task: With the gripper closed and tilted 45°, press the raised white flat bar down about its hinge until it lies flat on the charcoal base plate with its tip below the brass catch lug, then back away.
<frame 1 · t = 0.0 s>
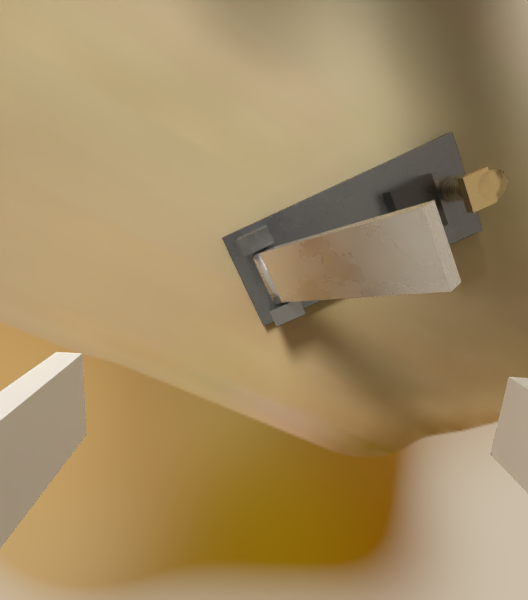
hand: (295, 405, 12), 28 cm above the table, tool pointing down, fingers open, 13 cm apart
strap base: (269, 269, 39), on the table
white flat bar: (330, 265, 28), point 11 cm above the table, hinge at 55.0°
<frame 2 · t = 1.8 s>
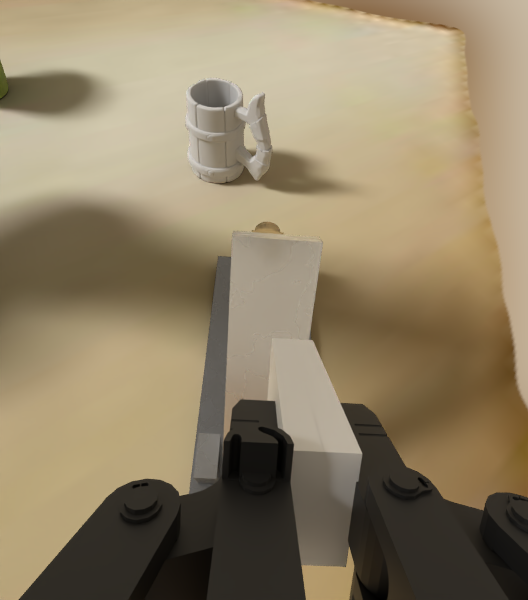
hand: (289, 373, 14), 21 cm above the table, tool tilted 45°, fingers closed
mug: (230, 173, 50), on the table
strap base: (254, 466, 31), on the table
white flat bar: (264, 369, 25), point 11 cm above the table, hinge at 55.0°
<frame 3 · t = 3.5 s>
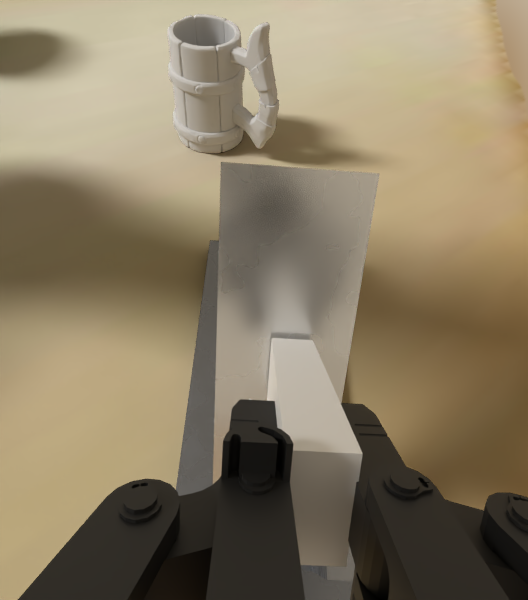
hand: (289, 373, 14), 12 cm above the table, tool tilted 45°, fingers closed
mug: (226, 142, 40), on the table
strap base: (259, 536, 22), on the table
white flat bar: (277, 397, 15), point 10 cm above the table, hinge at 51.8°, touching gripper
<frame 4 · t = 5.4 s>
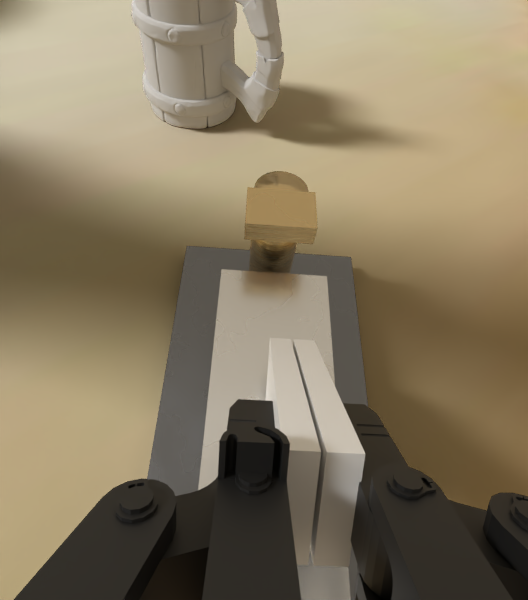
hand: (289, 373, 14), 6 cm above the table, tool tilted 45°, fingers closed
mug: (213, 114, 31), on the table
white flat bar: (269, 484, 13), point 4 cm above the table, hinge at -0.4°, touching gripper, strap base
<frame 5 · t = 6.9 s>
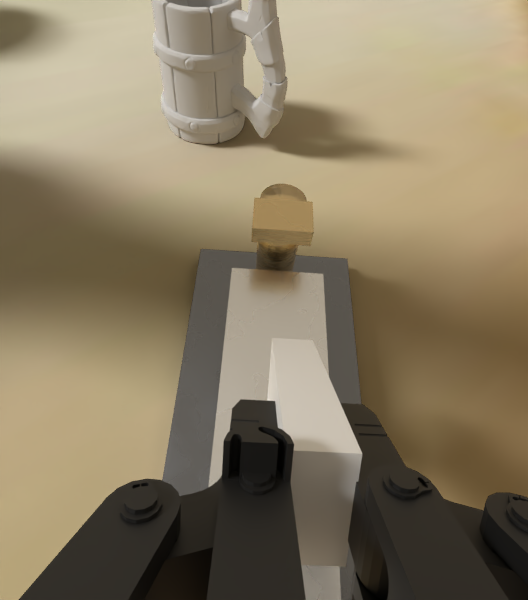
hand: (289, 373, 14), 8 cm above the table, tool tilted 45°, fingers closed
mug: (224, 131, 34), on the table
white flat bar: (272, 445, 16), point 4 cm above the table, hinge at -0.3°, touching strap base
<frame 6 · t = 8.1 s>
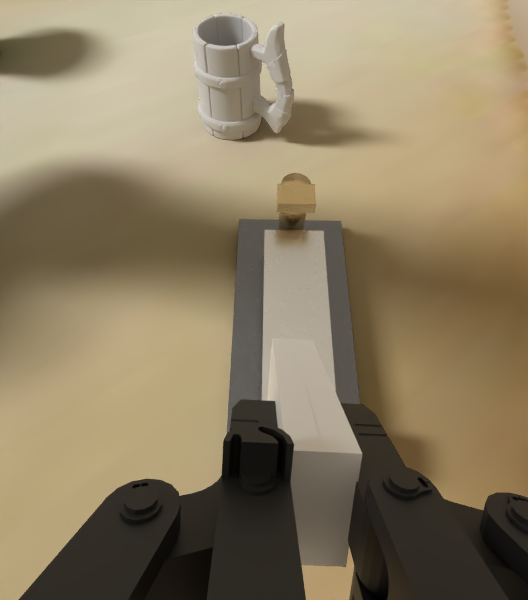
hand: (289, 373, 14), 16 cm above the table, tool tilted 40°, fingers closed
mug: (246, 128, 45), on the table
strap base: (294, 451, 28), on the table
white flat bar: (296, 330, 28), point 4 cm above the table, hinge at -0.3°, touching strap base
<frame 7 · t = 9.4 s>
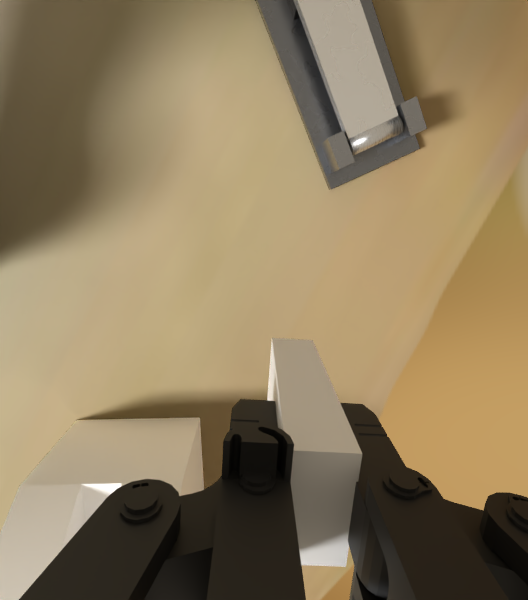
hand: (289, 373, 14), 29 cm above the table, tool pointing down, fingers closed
strap base: (362, 142, 40), on the table
white box: (145, 483, 49), on the table
white flat bar: (343, 48, 34), point 4 cm above the table, hinge at -0.3°, touching strap base
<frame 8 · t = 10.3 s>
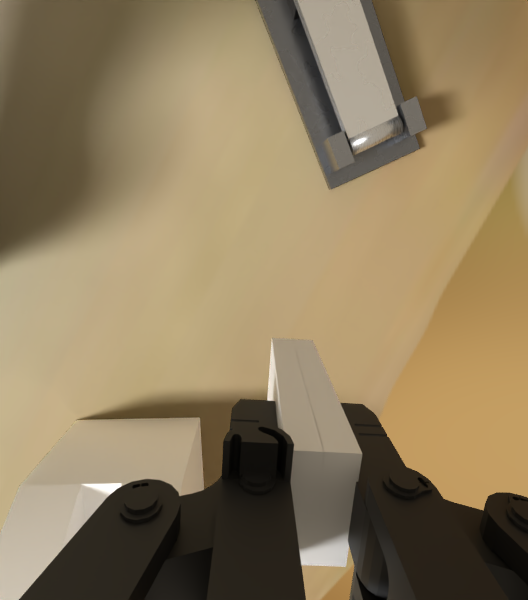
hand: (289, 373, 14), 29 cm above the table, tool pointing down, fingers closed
strap base: (362, 142, 40), on the table
white box: (145, 483, 49), on the table
white flat bar: (343, 48, 34), point 4 cm above the table, hinge at -0.3°, touching strap base
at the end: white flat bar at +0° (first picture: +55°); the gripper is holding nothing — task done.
